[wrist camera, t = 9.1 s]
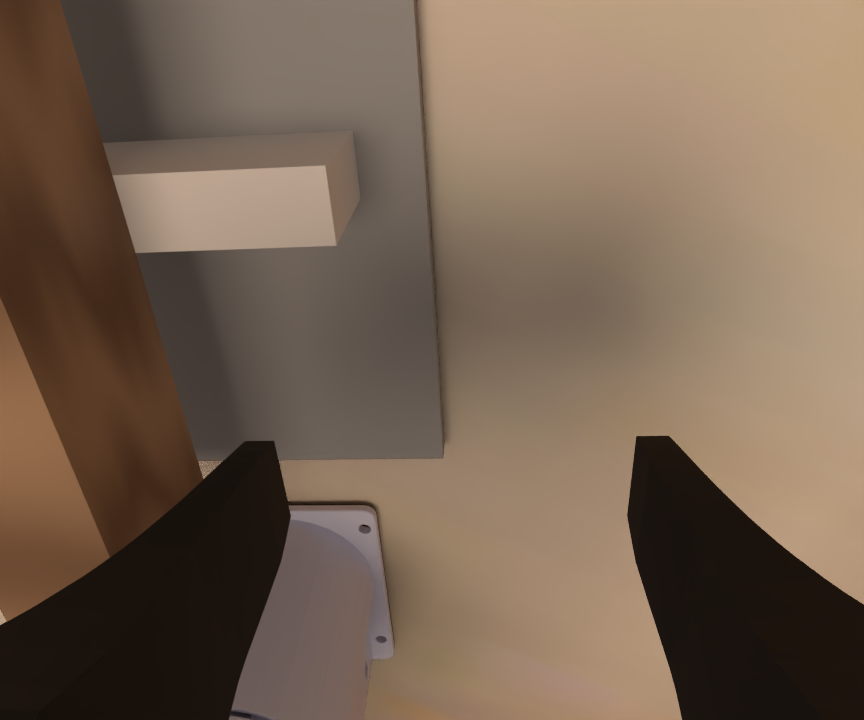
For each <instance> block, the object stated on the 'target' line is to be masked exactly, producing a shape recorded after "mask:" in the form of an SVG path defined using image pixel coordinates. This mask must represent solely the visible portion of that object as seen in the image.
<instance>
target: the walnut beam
mask: <svg viewBox="0 0 864 720" xmlns="http://www.w3.org/2000/svg"><path fill="white" fill-rule="evenodd" d="M201 481H203V477H202V474H201V470H200V467H199V464H198V460H197V457H196V453H195V450H194V447H193V443H192V440H191V437H190V433H189V430H188V427H187V423H186V420H185V417H184V413H183V410H182V407H181V403H180V400H179V397H178V393H177V390H176V387H175V383H174V380H173V376H172V373H171V370H170V366H169V363H168V360H167V356H166V353H165V350H164V346H163V343H162V340H161V336H160V333H159V330H158V326H157V323H156V320H155V316H154V313H153V310H152V306H151V303H150V300H149V296H148V293H147V289H146V286H145V283H144V279H143V276H142V273H141V269H140V266H139V263H138V259H137V256H136V253H135V249H134V246H133V243H132V239H131V236H130V233H129V229H128V226H127V223H126V219H125V216H124V213H123V209H122V206H121V202H120V199H119V196H118V192H117V189H116V186H115V182H114V179H113V176H112V172H111V169H110V166H109V162H108V159H107V156H106V152H105V149H104V146H103V142H102V139H101V136H100V132H99V129H98V126H97V122H96V119H95V115H94V112H93V109H92V105H91V102H90V99H89V95H88V92H87V89H86V85H85V82H84V79H83V75H82V72H81V69H80V65H79V62H78V59H77V55H76V52H75V49H74V45H73V42H72V39H71V35H70V32H69V28H68V25H67V22H66V18H65V15H64V12H63V8H62V5H61V2H60V0H0V610H1V612H2V613H3V615H4V617H5V619H6V620H7V621H9V620H11V619H13V618H14V617H16V616H18V615H20V614H22V613H23V612H25V611H27V610H29V609H31V608H32V607H34V606H36V605H37V604H39V603H41V602H42V601H44V600H46V599H47V598H49V597H50V596H52V595H54V594H55V593H57V592H58V591H60V590H62V589H63V588H65V587H67V586H68V585H70V584H71V583H73V582H75V581H76V580H78V579H80V578H81V577H83V576H84V575H86V574H87V573H89V572H90V571H92V570H93V569H94V568H96V567H97V566H99V565H100V564H102V563H103V562H104V561H106V560H107V559H109V558H110V557H111V556H113V555H114V554H116V553H117V552H118V551H120V550H121V549H122V548H124V547H125V546H126V545H128V544H129V543H130V542H132V541H133V540H134V539H135V538H137V537H138V536H139V535H140V534H142V533H143V532H144V531H145V530H146V529H148V528H149V527H150V526H151V525H152V524H154V523H155V522H156V521H157V520H158V519H160V518H161V517H162V516H163V515H164V514H166V513H167V512H168V511H169V510H170V509H171V508H173V507H174V506H175V505H176V504H177V503H178V502H180V501H181V500H182V499H183V498H184V497H185V496H186V495H187V494H188V493H189V492H191V491H192V490H193V489H194V488H195V487H196V486H197V485H198V484H199V483H200V482H201Z"/></svg>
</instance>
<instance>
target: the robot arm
mask: <svg viewBox="0 0 864 720" xmlns="http://www.w3.org/2000/svg"><path fill="white" fill-rule="evenodd" d="M627 516H628V522H629V528H630V533H631V539H632V544H633V550H634V555H635V560H636V564H637V567H638V571H639V574H640V577H641V580H642V583H643V586H644V590H645V593H646V596H647V599H648V602H649V605H650V608H651V611H652V615H653V618H654V621H655V624H656V627H657V630H658V633H659V636H660V639H661V642H662V646H663V649H664V652H665V655H666V658H667V661H668V664H669V667H670V671H671V674H672V678H673V682H674V685H675V689H676V693H677V697H678V702H679V707H680V711H681V716H682V720H864V605H863V604H862V603H860V602H859V601H857V600H856V599H854V598H852V597H851V596H849V595H848V594H846V593H845V592H843V591H842V590H840V589H839V588H837V587H836V586H835V585H833V584H832V583H830V582H829V581H827V580H826V579H825V578H823V577H822V576H821V575H819V574H818V573H817V572H815V571H814V570H813V569H811V568H810V567H809V566H807V565H806V564H804V563H803V562H802V561H800V560H799V559H798V558H796V557H795V556H794V555H793V554H791V553H790V552H789V551H788V550H786V549H785V548H784V547H783V546H781V545H780V544H779V543H778V542H776V541H775V540H774V539H773V538H772V537H771V536H770V535H768V534H767V533H766V532H765V531H764V530H763V529H761V528H760V527H759V526H758V525H757V524H756V523H755V522H753V521H752V520H751V519H750V518H749V517H748V516H747V515H746V514H745V513H744V512H743V511H742V510H741V509H740V508H739V507H737V506H736V505H735V504H734V503H733V502H732V501H731V500H730V499H729V498H728V497H727V496H726V495H725V494H724V493H723V492H722V491H721V490H720V489H719V488H718V487H717V486H716V485H715V484H714V483H713V482H712V481H711V480H710V479H709V478H708V477H707V476H706V475H705V474H704V472H703V471H702V470H701V469H700V468H699V467H698V466H697V465H696V464H695V463H694V462H693V461H692V460H691V459H690V458H689V457H688V456H687V454H686V453H685V452H684V451H683V450H682V449H681V448H680V447H679V446H678V445H677V444H676V443H675V442H674V441H673V440H672V439H671V438H670V437H669V436H636V445H635V453H634V462H633V471H632V479H631V488H630V497H629V505H628V514H627ZM362 525H368V526H369V527H364V526H362ZM393 654H394V640H393V633H392V625H391V618H390V611H389V603H388V596H387V588H386V581H385V574H384V566H383V559H382V552H381V544H380V537H379V530H378V522H377V515H376V512H375V510H374V509H373V508H371V507H369V506H365V505H296V506H289V505H288V501H287V496H286V492H285V487H284V483H283V478H282V474H281V469H280V465H279V460H278V456H277V451H276V447H275V442H274V441H245V442H243V443H242V444H241V445H240V446H239V447H238V448H237V449H236V450H234V451H233V452H232V453H231V454H230V455H229V456H228V457H227V458H226V459H225V460H224V461H223V462H222V463H221V464H220V465H218V466H217V467H216V468H215V469H214V470H213V471H212V472H211V473H210V474H209V475H208V476H207V477H206V478H205V479H204V480H203V481H201V482H200V483H199V484H198V485H197V486H196V487H195V488H194V489H193V490H192V491H191V492H189V493H188V494H187V495H186V496H185V497H184V498H183V499H182V500H181V501H180V502H178V503H177V504H176V505H175V506H174V507H173V508H171V509H170V510H169V511H168V512H167V513H166V514H164V515H163V516H162V517H161V518H160V519H158V520H157V521H156V522H155V523H154V524H152V525H151V526H150V527H149V528H148V529H146V530H145V531H144V532H143V533H142V534H140V535H139V536H138V537H137V538H135V539H134V540H133V541H132V542H130V543H129V544H128V545H126V546H125V547H124V548H122V549H121V550H120V551H118V552H117V553H116V554H114V555H113V556H111V557H110V558H109V559H107V560H106V561H104V562H103V563H102V564H100V565H99V566H97V567H96V568H94V569H93V570H92V571H90V572H89V573H87V574H86V575H84V576H83V577H81V578H80V579H78V580H76V581H75V582H73V583H71V584H70V585H68V586H67V587H65V588H63V589H62V590H60V591H58V592H57V593H55V594H54V595H52V596H50V597H49V598H47V599H46V600H44V601H42V602H41V603H39V604H37V605H36V606H34V607H32V608H31V609H29V610H27V611H25V612H23V613H22V614H20V615H18V616H16V617H14V618H13V619H11V620H9V621H7V622H5V623H3V624H2V625H0V720H363V717H364V710H365V704H366V697H367V691H368V684H369V678H370V671H371V665H372V659H389V658H391V657H392V656H393Z"/></svg>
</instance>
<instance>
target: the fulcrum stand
mask: <svg viewBox="0 0 864 720" xmlns="http://www.w3.org/2000/svg"><path fill="white" fill-rule="evenodd" d="M60 2H61V5H62V8H63V12H64V15H65V18H66V22H67V25H68V28H69V32H70V35H71V39H72V42H73V45H74V49H75V52H76V55H77V59H78V62H79V65H80V69H81V72H82V75H83V79H84V82H85V85H86V89H87V92H88V95H89V99H90V102H91V105H92V109H93V112H94V115H95V119H96V122H97V126H98V129H99V132H100V136H101V139H102V142H103V146H104V149H105V152H106V156H107V159H108V162H109V166H110V169H111V172H112V176H113V179H114V182H115V186H116V189H117V192H118V196H119V199H120V202H121V206H122V209H123V213H124V216H125V219H126V223H127V226H128V229H129V233H130V236H131V239H132V243H133V246H134V249H135V253H136V256H137V259H138V263H139V266H140V269H141V273H142V276H143V279H144V283H145V286H146V289H147V293H148V296H149V300H150V303H151V306H152V310H153V313H154V316H155V320H156V323H157V326H158V330H159V333H160V336H161V340H162V343H163V346H164V350H165V353H166V356H167V360H168V363H169V366H170V370H171V373H172V376H173V380H174V383H175V387H176V390H177V393H178V397H179V400H180V403H181V407H182V410H183V413H184V417H185V420H186V423H187V427H188V430H189V433H190V437H191V440H192V443H193V447H194V450H195V453H196V457H197V460H198V461H224V460H225V459H226V458H227V457H228V456H229V455H230V454H231V453H232V452H233V451H234V450H236V449H237V448H238V447H239V446H240V445H241V444H242V443H243V442H245V441H274V442H275V447H276V451H277V456H278V460H332V459H436V458H443V457H444V443H445V442H444V426H443V410H442V394H441V378H440V362H439V347H438V331H437V315H436V299H435V283H434V267H433V251H432V236H431V220H430V204H429V188H428V172H427V156H426V140H425V125H424V109H423V93H422V77H421V61H420V45H419V29H418V14H417V0H60Z"/></svg>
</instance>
